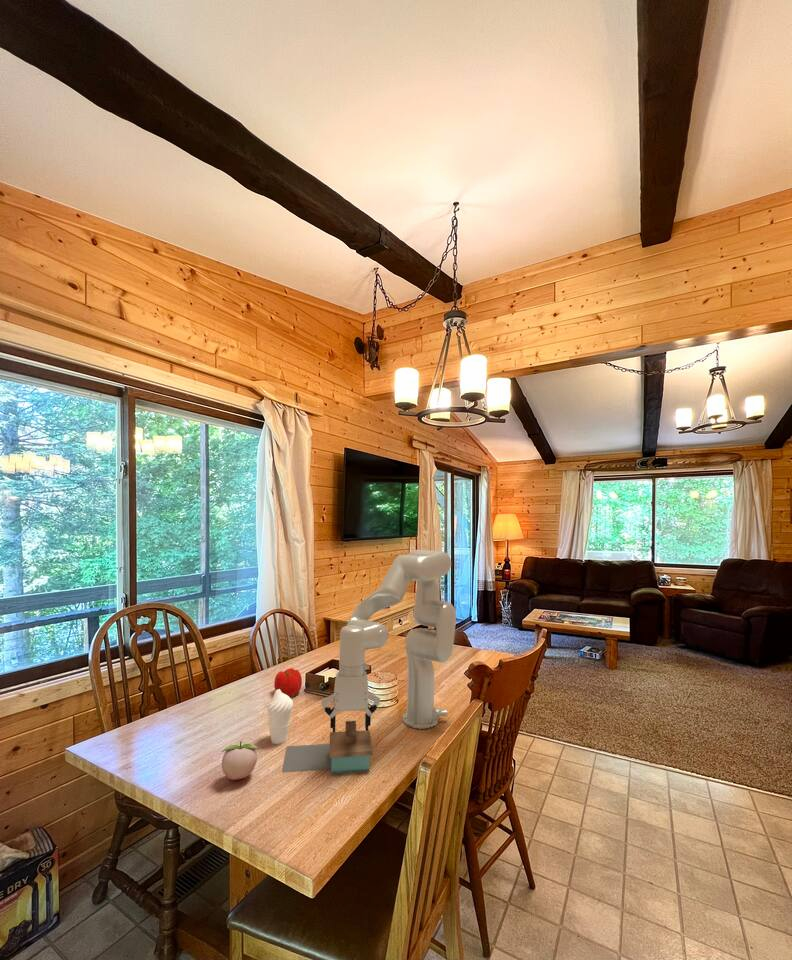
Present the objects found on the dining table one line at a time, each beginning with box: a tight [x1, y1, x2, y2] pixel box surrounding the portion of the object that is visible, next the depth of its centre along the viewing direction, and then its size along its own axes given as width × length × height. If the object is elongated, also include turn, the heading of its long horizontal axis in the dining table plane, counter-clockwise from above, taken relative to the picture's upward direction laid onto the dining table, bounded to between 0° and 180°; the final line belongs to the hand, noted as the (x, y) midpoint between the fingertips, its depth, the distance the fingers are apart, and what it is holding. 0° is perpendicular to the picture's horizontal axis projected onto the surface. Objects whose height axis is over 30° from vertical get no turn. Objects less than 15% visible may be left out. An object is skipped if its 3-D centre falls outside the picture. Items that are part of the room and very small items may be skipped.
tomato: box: [273, 667, 303, 697], centre depth 176 cm, size 11×12×9 cm
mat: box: [281, 743, 331, 773], centre depth 129 cm, size 14×14×1 cm
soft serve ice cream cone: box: [266, 689, 294, 745], centre depth 139 cm, size 8×8×16 cm
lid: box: [329, 720, 374, 758], centre depth 127 cm, size 12×12×6 cm
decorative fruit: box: [221, 741, 259, 781], centre depth 118 cm, size 9×8×10 cm
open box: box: [330, 756, 370, 775], centre depth 127 cm, size 11×11×5 cm
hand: (350, 729), depth 128 cm, fingers open, 9 cm apart
